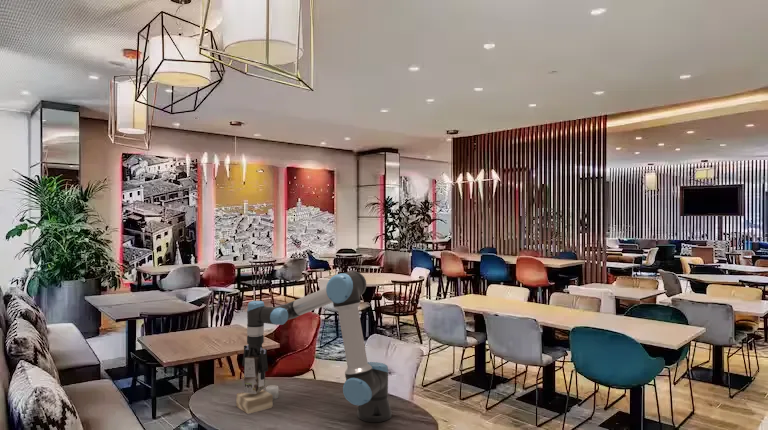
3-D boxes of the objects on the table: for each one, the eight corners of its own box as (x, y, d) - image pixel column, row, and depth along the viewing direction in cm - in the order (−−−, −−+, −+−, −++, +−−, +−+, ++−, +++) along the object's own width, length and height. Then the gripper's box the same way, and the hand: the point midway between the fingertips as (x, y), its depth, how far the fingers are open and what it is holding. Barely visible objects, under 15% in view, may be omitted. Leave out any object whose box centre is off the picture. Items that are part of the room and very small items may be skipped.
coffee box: (256, 394, 219) (257, 358, 219) (243, 393, 221) (244, 357, 221) (265, 387, 228) (266, 353, 228) (252, 386, 229) (253, 352, 230)
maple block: (272, 408, 224) (272, 395, 224) (247, 414, 216) (248, 401, 216) (260, 400, 233) (260, 388, 233) (236, 406, 225) (236, 393, 225)
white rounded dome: (280, 397, 237) (281, 386, 237) (271, 400, 232) (271, 390, 232) (272, 394, 241) (272, 384, 241) (263, 397, 236) (263, 387, 236)
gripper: (277, 336, 221) (276, 386, 221) (247, 330, 234) (246, 377, 234) (263, 339, 215) (263, 391, 215) (234, 333, 228) (233, 381, 228)
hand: (254, 384), depth 224 cm, fingers closed on coffee box, 8 cm apart
